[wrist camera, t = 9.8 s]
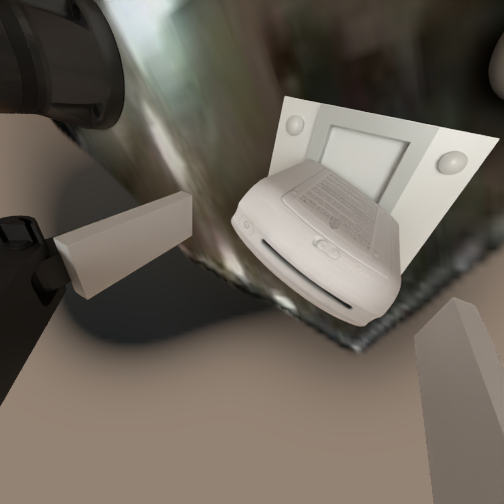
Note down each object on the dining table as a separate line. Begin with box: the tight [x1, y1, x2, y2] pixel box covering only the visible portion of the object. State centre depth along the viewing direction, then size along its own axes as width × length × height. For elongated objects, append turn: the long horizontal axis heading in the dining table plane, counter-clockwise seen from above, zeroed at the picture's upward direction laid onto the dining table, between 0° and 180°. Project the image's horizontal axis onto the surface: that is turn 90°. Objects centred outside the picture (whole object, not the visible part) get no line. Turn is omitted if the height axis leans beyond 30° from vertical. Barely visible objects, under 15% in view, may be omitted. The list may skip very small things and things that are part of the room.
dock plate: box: [268, 96, 499, 274], centre depth 21 cm, size 16×14×2 cm
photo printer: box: [231, 160, 401, 326], centre depth 16 cm, size 10×4×12 cm, turn 61°
